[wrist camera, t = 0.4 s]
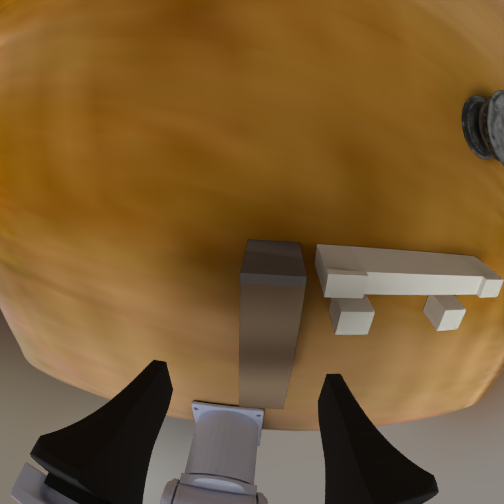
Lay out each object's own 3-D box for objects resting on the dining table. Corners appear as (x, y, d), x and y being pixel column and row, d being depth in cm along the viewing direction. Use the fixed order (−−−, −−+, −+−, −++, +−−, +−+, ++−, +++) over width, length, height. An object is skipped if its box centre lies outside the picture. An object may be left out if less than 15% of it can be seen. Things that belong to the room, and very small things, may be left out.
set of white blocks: (455, 309, 20) (478, 337, 16) (307, 309, 21) (313, 348, 17) (474, 256, 18) (503, 279, 14) (317, 244, 19) (328, 273, 15)
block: (283, 365, 24) (283, 409, 19) (244, 363, 24) (239, 406, 19) (299, 242, 19) (307, 276, 14) (248, 239, 19) (240, 272, 14)
